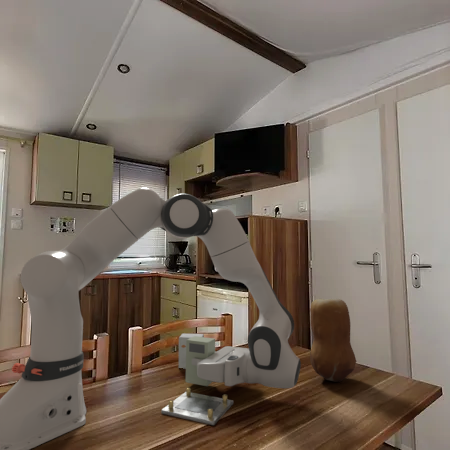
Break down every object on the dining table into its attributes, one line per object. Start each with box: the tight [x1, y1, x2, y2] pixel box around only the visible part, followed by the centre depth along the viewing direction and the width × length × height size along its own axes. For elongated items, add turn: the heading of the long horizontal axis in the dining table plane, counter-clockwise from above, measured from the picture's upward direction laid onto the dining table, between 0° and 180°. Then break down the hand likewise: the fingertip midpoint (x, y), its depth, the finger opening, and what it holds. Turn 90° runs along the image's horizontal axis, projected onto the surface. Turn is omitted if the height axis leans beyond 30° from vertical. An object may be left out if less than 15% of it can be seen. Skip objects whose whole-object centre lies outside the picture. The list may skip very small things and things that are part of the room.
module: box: [185, 336, 216, 387], centre depth 98 cm, size 5×7×12 cm
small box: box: [178, 333, 205, 370], centre depth 115 cm, size 8×6×10 cm
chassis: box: [160, 387, 234, 426], centre depth 83 cm, size 12×14×2 cm
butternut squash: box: [309, 298, 357, 383], centre depth 104 cm, size 14×13×25 cm
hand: (197, 357), depth 99 cm, fingers closed on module, 5 cm apart
